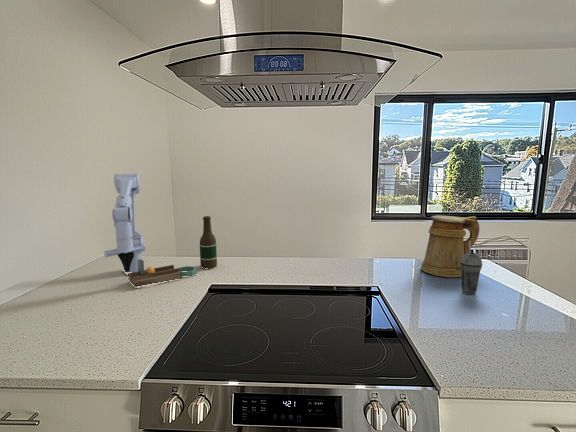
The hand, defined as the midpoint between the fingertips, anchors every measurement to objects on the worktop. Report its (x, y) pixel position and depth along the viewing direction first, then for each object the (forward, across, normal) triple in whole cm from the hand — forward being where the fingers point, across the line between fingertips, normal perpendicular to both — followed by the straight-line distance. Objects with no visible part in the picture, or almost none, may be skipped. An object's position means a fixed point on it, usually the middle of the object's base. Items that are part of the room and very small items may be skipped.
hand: (127, 271), depth 138 cm
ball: (+2, +9, 0) cm, 9 cm away
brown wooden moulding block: (+6, +10, 0) cm, 12 cm away
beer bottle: (+7, +36, +4) cm, 37 cm away
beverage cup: (+7, +99, -87) cm, 132 cm away
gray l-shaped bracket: (+3, +6, 0) cm, 6 cm away
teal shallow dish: (+6, +24, 0) cm, 25 cm away
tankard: (+7, +117, -69) cm, 136 cm away
